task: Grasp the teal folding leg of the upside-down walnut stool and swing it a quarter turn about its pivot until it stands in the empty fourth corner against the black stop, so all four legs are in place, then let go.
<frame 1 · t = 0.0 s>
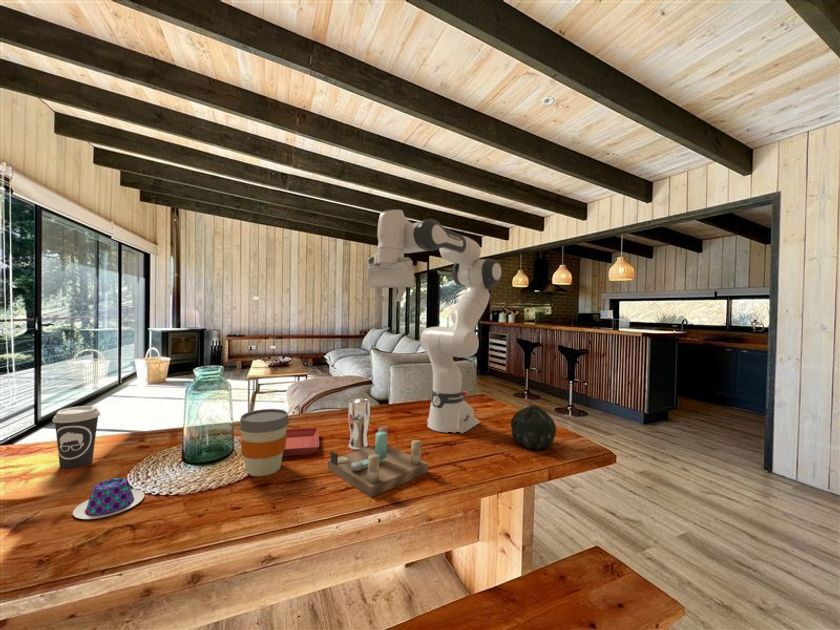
hand: (389, 301, 116), 48 cm above the table, tool pointing down, fingers open, 8 cm apart
coffee cup: (76, 464, 98), on the table
purple patterned hat: (110, 507, 79), on the table
plant saucer: (289, 448, 114), on the table
reusable coffee cup: (263, 469, 98), on the table
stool: (377, 470, 99), on the table
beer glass: (358, 446, 116), on the table
squash: (532, 445, 122), on the table
folding leg: (369, 450, 96), point 7 cm above the table, hinge at 0.0°
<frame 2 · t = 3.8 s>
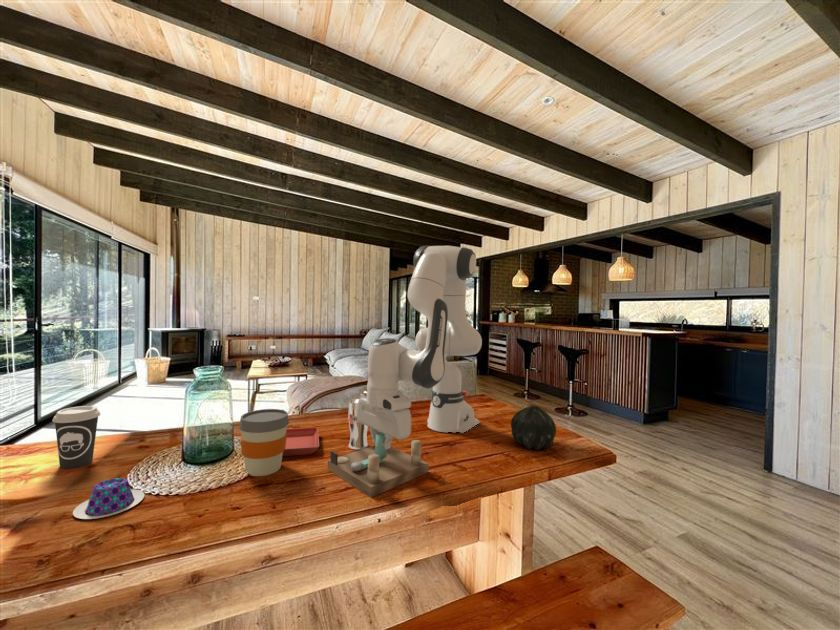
hand: (381, 445, 99), 7 cm above the table, tool pointing down, fingers closed on folding leg, 3 cm apart
folding leg: (369, 450, 96), point 7 cm above the table, hinge at 0.0°, touching gripper
everything else where it was.
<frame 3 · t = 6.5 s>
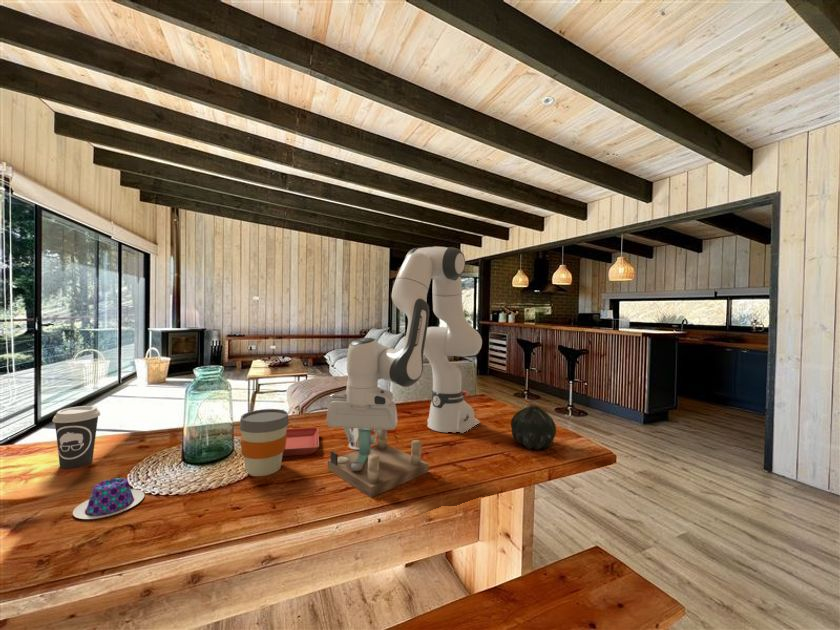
hand: (361, 442, 101), 7 cm above the table, tool pointing down, fingers open, 5 cm apart
folding leg: (361, 448, 97), point 7 cm above the table, hinge at 39.3°, touching gripper
everything else where it was.
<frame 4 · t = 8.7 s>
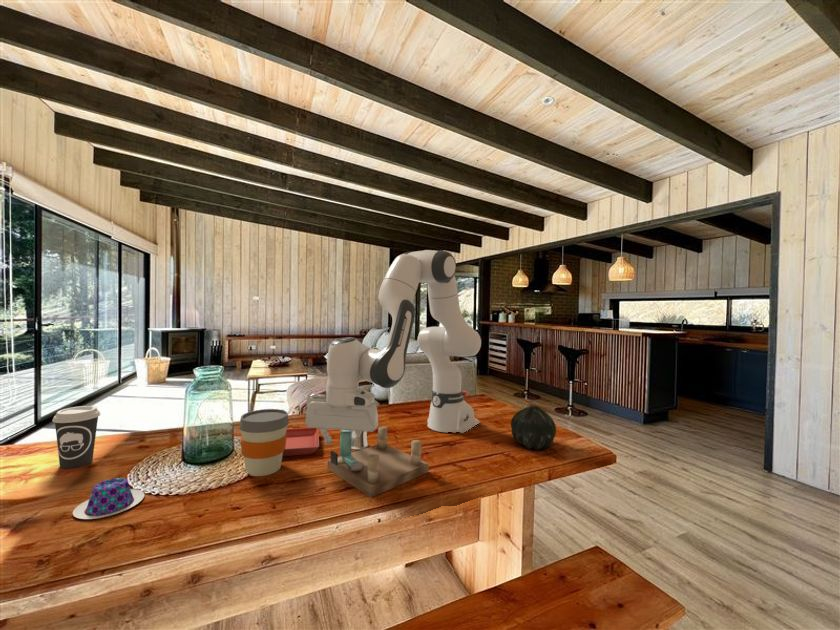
hand: (341, 444, 99), 7 cm above the table, tool pointing down, fingers open, 6 cm apart
folding leg: (351, 449, 97), point 7 cm above the table, hinge at 78.9°
everything else where it was.
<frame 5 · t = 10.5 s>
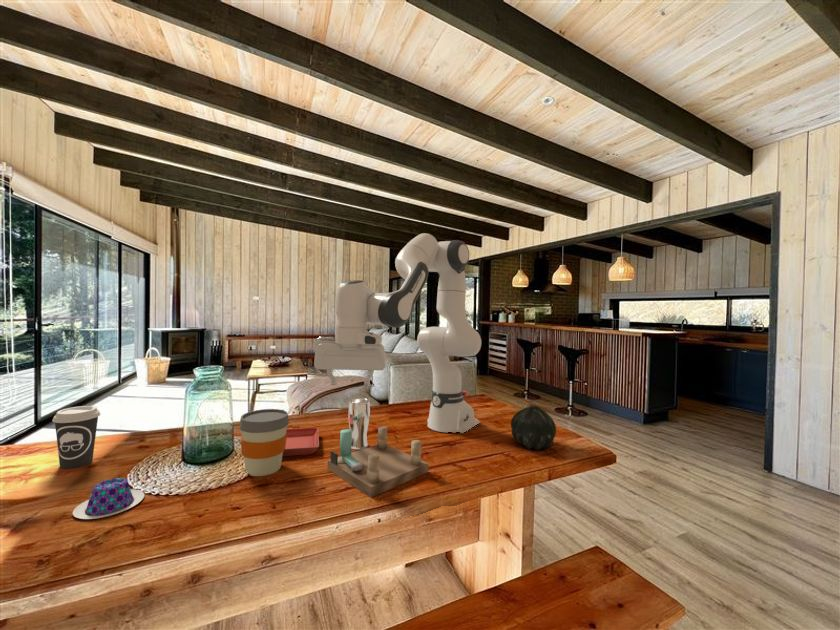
hand: (350, 385, 101), 23 cm above the table, tool pointing down, fingers open, 8 cm apart
nothing on the table moved.
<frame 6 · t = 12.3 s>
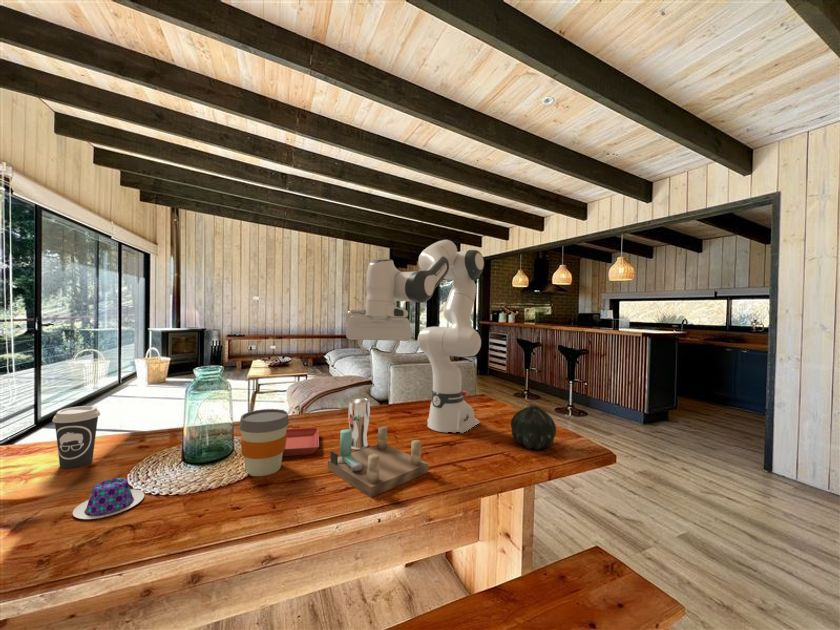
hand: (378, 354, 111), 31 cm above the table, tool pointing down, fingers open, 8 cm apart
at the end: folding leg at +79° (first picture: +0°); the gripper is holding nothing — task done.
